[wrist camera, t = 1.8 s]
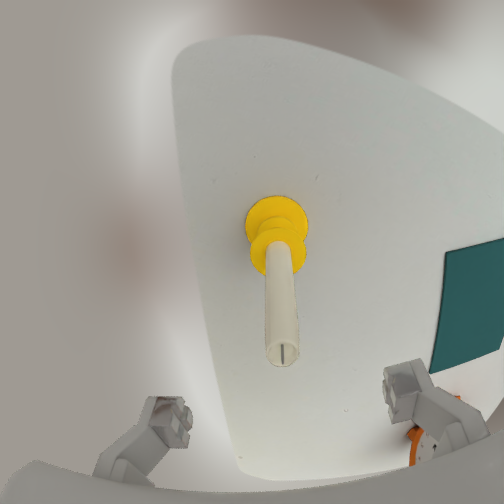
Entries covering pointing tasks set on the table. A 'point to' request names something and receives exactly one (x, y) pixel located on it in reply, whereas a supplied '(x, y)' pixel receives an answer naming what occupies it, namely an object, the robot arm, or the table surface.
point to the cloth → (470, 305)
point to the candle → (278, 270)
